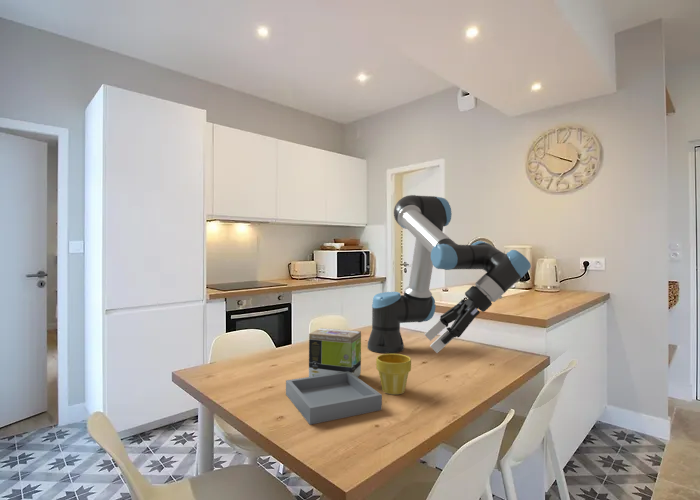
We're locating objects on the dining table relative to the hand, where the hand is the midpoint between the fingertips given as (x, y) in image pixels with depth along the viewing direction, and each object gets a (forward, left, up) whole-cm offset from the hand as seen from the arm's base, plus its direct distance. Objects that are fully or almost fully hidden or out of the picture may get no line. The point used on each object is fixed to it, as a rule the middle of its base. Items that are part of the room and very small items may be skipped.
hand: (430, 343), depth 111 cm
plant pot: (-6, -9, -15) cm, 18 cm away
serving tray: (-6, -29, -15) cm, 33 cm away
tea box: (-24, -20, -15) cm, 34 cm away
